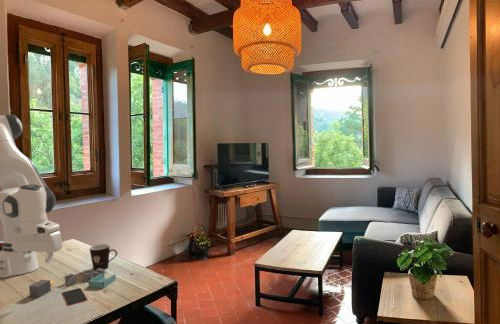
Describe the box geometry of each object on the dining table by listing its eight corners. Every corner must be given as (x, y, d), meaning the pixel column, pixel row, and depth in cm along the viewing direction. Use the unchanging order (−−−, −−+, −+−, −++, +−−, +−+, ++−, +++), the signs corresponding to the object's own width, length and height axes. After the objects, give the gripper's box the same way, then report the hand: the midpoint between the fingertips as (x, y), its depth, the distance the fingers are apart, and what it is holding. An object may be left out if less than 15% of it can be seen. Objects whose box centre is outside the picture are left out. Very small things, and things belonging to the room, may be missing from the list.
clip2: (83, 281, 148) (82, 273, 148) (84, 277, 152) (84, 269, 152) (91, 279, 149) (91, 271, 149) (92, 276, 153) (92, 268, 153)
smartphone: (67, 305, 126) (61, 292, 137) (67, 307, 126) (61, 293, 137) (88, 299, 130) (80, 287, 141) (88, 301, 130) (80, 288, 141)
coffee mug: (86, 269, 161) (85, 248, 161) (102, 263, 169) (101, 243, 168) (104, 273, 156) (102, 251, 155) (119, 267, 163) (118, 246, 163)
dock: (88, 287, 142) (88, 281, 142) (101, 279, 150) (101, 273, 150) (103, 288, 140) (103, 282, 140) (115, 280, 148) (115, 274, 148)
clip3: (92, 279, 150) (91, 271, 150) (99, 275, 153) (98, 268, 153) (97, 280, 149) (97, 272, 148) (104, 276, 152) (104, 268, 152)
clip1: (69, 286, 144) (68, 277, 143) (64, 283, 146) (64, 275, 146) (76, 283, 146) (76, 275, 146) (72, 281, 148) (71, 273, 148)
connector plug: (29, 297, 134) (29, 286, 134) (49, 286, 144) (49, 275, 144) (38, 298, 133) (38, 286, 133) (58, 287, 143) (57, 276, 143)
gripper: (5, 228, 134) (8, 264, 135) (50, 229, 129) (54, 265, 130) (19, 224, 140) (22, 258, 141) (63, 224, 135) (66, 259, 136)
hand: (38, 262), depth 136 cm, fingers open, 8 cm apart
